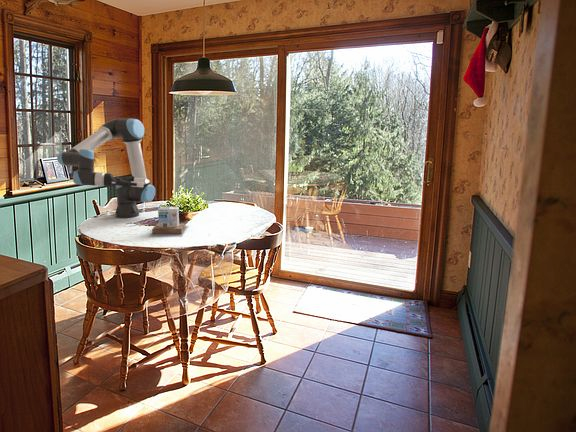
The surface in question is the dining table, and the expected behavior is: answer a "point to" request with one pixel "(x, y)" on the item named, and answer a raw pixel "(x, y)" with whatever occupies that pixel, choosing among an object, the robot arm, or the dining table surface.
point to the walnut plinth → (169, 229)
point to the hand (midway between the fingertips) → (144, 182)
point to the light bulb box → (168, 216)
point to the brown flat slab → (168, 234)
